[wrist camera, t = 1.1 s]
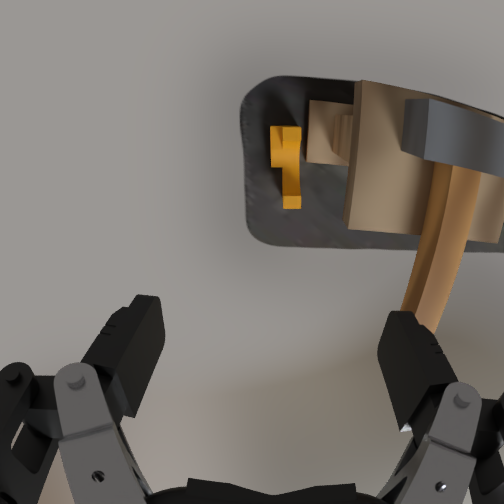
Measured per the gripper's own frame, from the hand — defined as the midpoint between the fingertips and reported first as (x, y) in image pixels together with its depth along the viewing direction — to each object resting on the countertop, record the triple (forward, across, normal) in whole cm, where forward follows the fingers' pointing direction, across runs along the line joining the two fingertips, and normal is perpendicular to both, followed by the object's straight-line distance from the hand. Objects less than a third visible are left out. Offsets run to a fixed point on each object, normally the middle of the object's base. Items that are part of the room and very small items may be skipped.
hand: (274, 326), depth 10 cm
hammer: (+11, -12, +1) cm, 16 cm away
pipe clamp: (+43, -2, +1) cm, 43 cm away
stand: (+42, -12, -5) cm, 44 cm away
